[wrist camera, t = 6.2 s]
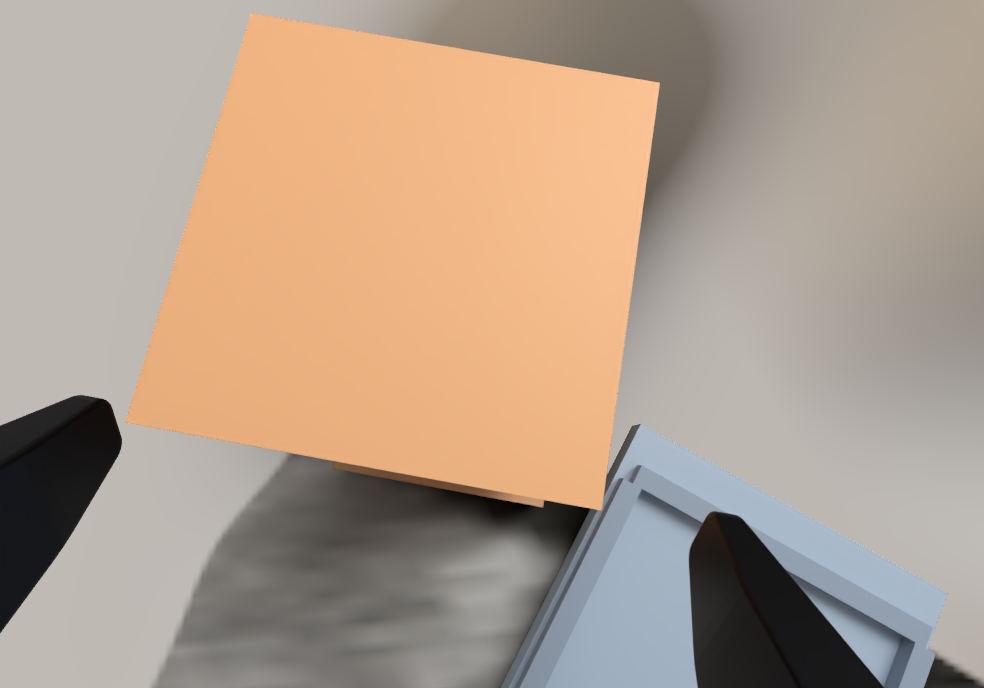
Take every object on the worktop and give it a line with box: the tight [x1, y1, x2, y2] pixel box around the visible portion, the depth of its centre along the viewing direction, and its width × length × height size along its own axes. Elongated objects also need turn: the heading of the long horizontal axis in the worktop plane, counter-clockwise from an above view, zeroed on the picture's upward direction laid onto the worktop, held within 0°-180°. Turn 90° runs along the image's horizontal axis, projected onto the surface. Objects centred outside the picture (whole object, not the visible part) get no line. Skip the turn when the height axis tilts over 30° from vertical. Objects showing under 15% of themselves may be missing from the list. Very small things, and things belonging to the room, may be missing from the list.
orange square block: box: [126, 13, 660, 510], centre depth 12 cm, size 6×6×13 cm
